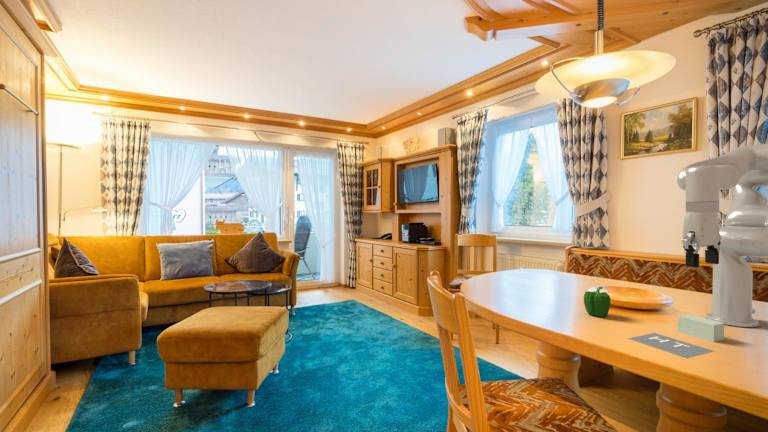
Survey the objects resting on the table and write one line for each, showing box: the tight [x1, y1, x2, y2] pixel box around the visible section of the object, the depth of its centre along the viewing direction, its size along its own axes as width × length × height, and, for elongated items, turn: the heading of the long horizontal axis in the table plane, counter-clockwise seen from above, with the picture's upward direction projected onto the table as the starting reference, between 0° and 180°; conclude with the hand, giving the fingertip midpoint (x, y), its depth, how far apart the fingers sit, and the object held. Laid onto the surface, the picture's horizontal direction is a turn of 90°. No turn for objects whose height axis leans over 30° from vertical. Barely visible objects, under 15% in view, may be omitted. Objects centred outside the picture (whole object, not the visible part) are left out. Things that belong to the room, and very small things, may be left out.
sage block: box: [677, 314, 725, 343], centre depth 107 cm, size 5×9×5 cm, turn 21°
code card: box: [627, 332, 715, 359], centre depth 100 cm, size 12×15×1 cm
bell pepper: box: [583, 285, 612, 318], centre depth 127 cm, size 8×8×10 cm
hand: (702, 265), depth 108 cm, fingers open, 9 cm apart
